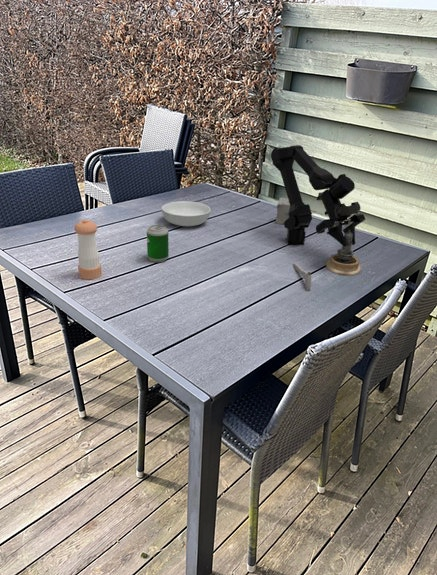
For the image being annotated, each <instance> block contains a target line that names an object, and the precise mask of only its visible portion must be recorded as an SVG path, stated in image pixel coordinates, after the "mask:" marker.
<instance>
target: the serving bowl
mask: <svg viewBox="0 0 437 575" xmlns="http://www.w3.org/2000/svg"><path fill="white" fill-rule="evenodd" d="M211 211H212V210H211V208H210V206H208V205H206V204H205V203H202V202H199V201H198V202H197V201H189V200H188V201H187V200H180V201H179V200H178V201H172V202H167V203H165V204H163V205H162V206H161V212H162V215H163V218H164V219H165V221H167V222H169V223H170V224H173V225H176V226H180V227H194V226H199V225H201V224H203V223H205V222H206V221H207V220H208V219H209V217H210V215H211Z"/></svg>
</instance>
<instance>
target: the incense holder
mask: <svg viewBox="0 0 437 575" xmlns="http://www.w3.org/2000/svg"><path fill="white" fill-rule="evenodd" d="M289 209H290V203H289V200H288V197H287V198H285V197H279V198H278V202H277V205H276V210H277V211H276V219H275V224H276V225H281V224H282V225H284V222H285V221H286V220H287V219H288V218H289V214H288V213H289Z"/></svg>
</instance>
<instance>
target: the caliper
mask: <svg viewBox="0 0 437 575" xmlns="http://www.w3.org/2000/svg"><path fill="white" fill-rule="evenodd" d="M292 266H293V268H294V269H295V270H296V271H297V272H298V273H299V274H300V275H301V276H302V277H301V278H302V279H303V280H304V288H305V289H306V291H310V290H311V285H312V284H311V283H312V271H310V270H304V269H303V267H301V266H300V265H299V264H298V263H296V262H293V263H292Z"/></svg>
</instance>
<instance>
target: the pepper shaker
mask: <svg viewBox="0 0 437 575" xmlns="http://www.w3.org/2000/svg"><path fill="white" fill-rule="evenodd" d="M74 231H75V233H76V234H77V240H78V242H77V243H78V248H77V249H78V251H77V259H78V266H77V269H78V277H79V276H80V277H81V278H80V277H79V278H80V279H82V278H83V279H82V280H86V279H91V280H95V278H96V279H99V278H100V277H101V276H102V275H101V274H102V265H101V263H100V254H99V250H98V246H97V236H96V233H97V231H98V225H97V224H96V222H95V221H92V220H88V219H85V218H84V219H83V220H81V221H78V222H77V223H76V224H75V225H74ZM98 277H99V278H98Z"/></svg>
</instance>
